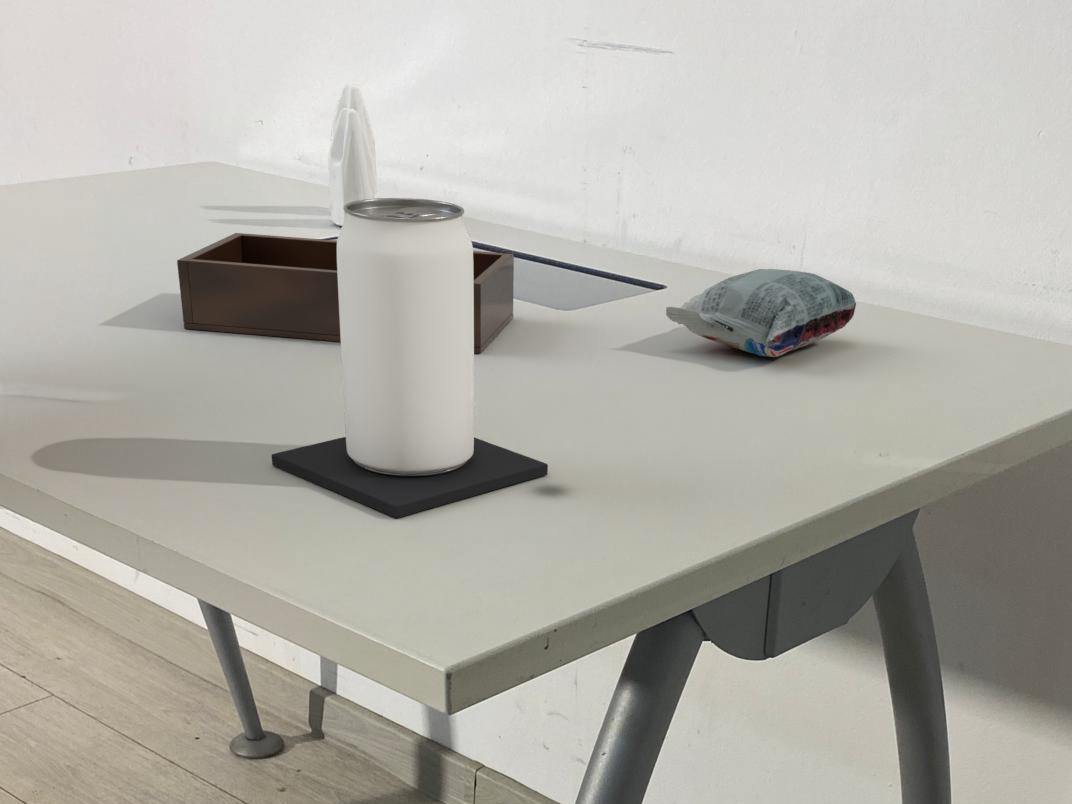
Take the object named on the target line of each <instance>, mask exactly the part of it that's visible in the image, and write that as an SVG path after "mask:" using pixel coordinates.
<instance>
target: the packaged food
mask: <svg viewBox="0 0 1072 804" xmlns="http://www.w3.org/2000/svg"><path fill="white" fill-rule="evenodd" d="M856 306H857V303H856V299H855V296H854V294H853V293H852V292H851V291H849V290H848V289H846V288H844V287H842V286H840V285H839V284H836V283H834V282H833V281H831V280H828V279H827V278H825V277H822V276H819V275H818V274H816V273H813V272H806V271H799V270H790V269H789V270H788V269H779V268H759V269H755V270H751V271H747V272H744V273H740V274H737V275H734V276H730V277H728V278H725V279H723V280H721V281H719V282H717V283H716V284H714V285H711V286H710V287H708V288H706V289H704V291H703V292H702V293H700V294H697V295H694V296H692V297H691V298H690V299H689V301H686V302H684V303H683V305H681V306H679V307H676V306H667V307H665V316H666V317H667V318H668V319H669V320H670V321H672V322H674V323H677V324H678V325H683V326H685V328H687V330H689V332H691V333H693V334H694V335H696V336H699V337H702V338H705V339H707V340H710V341H713V342H716V343H719V344H721V345H724V346H728V347H731V348H734V349H736V350H740V351H742V352H747V353H750V354H753V355H756V356H758V357H768V358H769V357H770V358H777V357H781V356H782V355H785V354H786V353H787V354H788V352H791V351H796V350H798V349H800V348H803V347H806V346H808V345H811V344H813V343H815V342H818V341H821V340H823V339H825V338H827V337H828V336H830V335H832V334H834V333H837V332H838V331H839V330H841V329H843V328H845V327H846V326H847V324H848V323H849V322H850V321H851V320H852V319H853V318H854V315H855V313H856V312H855V310H856Z"/></svg>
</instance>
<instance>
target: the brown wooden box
mask: <svg viewBox="0 0 1072 804" xmlns="http://www.w3.org/2000/svg"><path fill="white" fill-rule="evenodd" d="M176 265H177V274H178V283H179V294H180V302H181V310H182V311H181V312H182V319H183V321H182V322H183V328H184V330H195V331H208V332H217V333H218V332H220V333H232V334H242V335H256V336H266V337H279V338H291V339H300V340H301V339H304V340H314V341H315V340H316V341H326V342H327V341H328V342H336V343H337V342H339V343H341V338H340V318H339V297H338V275H337V240H336V239H321V238H311V237H310V238H309V237H297V236H285V235H284V236H282V235H270V234H257V233H256V234H255V233H245V232H244V233H242V232H234V233H233V234H232V233H231V234H230V235H227V236H226V237H224V238H222V239H219V240H217V241H216V242H213V243H211V244H209V245H207V246H204V247H202V248H200V249H198V250H195V251H194V252H192V253H190V254H187V255H185V256H183V257H181V258H179V259H177V260H176ZM514 267H515V256H514V253H504V252H495V251H494V252H492V251H480V250H473V275H474V354H482V353H483V351H485V350H486V349H487V347H488V346H489V345H490V344H491V343H492V342H493V341H494V340H495V339H496V337H498V335H499V334H500V333H501V332H502V331H503V330H504V329H505V328H506V327H507V326H508V325H509V324H510V322H511V321H512V320H513V319H514V283H515V282H514V280H515V279H514V271H515V269H514Z"/></svg>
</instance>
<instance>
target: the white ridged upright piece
mask: <svg viewBox="0 0 1072 804" xmlns="http://www.w3.org/2000/svg"><path fill="white" fill-rule="evenodd" d="M374 135H375V134H374V131H373V128H372V125H371V122H370V119H369V114H368V111H367V107H366V104H365V101H364V98H363V95H362V93H361V90H360V88H359V86H358V85H356V84H353V85H352V84H344V86H343V87H342V89H341V92H340V94H339V96H338V100H337V104H336V107H335V110H334V115H333V121H332V126H331V132H330V145H329V152H328V157H327V168H328V169H327V173H328V187H329V188H328V189H329V190H328V192H329V193H328V195H329V207H330V208H329V209H330V221H332V222H333V223H334V224H335V225H337V226H341V227H342V226H343V223H344V221H345V216H346V212H345V211H344V209H343V207H344V205H346V204H347V203H350V202H354V201H358V200H365V199H377V198H379V195H378V179H377V177H378V176H377V175H378V174H377V157H376V141H375V136H374Z"/></svg>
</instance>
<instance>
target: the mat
mask: <svg viewBox="0 0 1072 804" xmlns="http://www.w3.org/2000/svg"><path fill="white" fill-rule="evenodd" d="M271 465H272V466H274V467H275V468H278V469H280V470H283V471H285V472H288V473H290V474H292V475H294V476H296V477H299V478H302V479H304V480H306V481H309V482H311V483H313V484H315V485H318V486H320V487H323V488H325V489H328V490H330V491H332V492H334V493H337V494H338V495H341V496H344V497H346V498H348V499H350V500H352V501H355V502H357V503H360V504H362V505H365V506H366V507H369V508H372V509H374V510H376V511H378V512H381V513H383V514H385V515H388V516H390V517H392V518H394V519H400V518H402V517H406V516H411V515H413V514H416V513H419V512H424V511H426V510H427V511H428V510H430V509H434V508H437V507H440V506H444V505H448V504H450V503H454V502H459V501H461V500H462V501H463V500H466V499H469V498H471V497H472V498H473V497H475V496H478V495H482V494H485V493H490V492H492V491H496V490H499V489H503V488H505V487H509V486H514V485H516V484H520V483H523V482H527V481H531V480H534V479H537V478H541V477H544V476H547V475H548V471H549V470H548V469H549V465H548V463H546V462H544V461H541V460H538V459H534V458H532V457H530V456H527V455H524V454H522V453H520V452H519V453H518V452H515V451H513V450H510V449H507V448H505V447H502V446H499V445H496V444H494V443H491V442H488V441H485V440H483V439H479V438H477V437H474V451H473V455H472V456H471V458H470V459H468V461H467V463H466V464H465V465H464V466H462V467H461V468H459V469H457V470H455V471H452V472H448V473H445V474H440V475H433V476H424V477H399V476H389V475H383V474H378V473H374V472H370V471H367V470H365V469H363V468H361V467H359V466H358V465H356V464H355V462H354V461H353V459H352V458H351V457H350V456H349V455H348V453H347V447H346V436H343V437H337V438H334V439H330V440H325V441H321V442H317V443H314V444H308V445H305V446H300V447H297V448H292V449H287V450H284V451H280V452H274V453H271Z"/></svg>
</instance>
